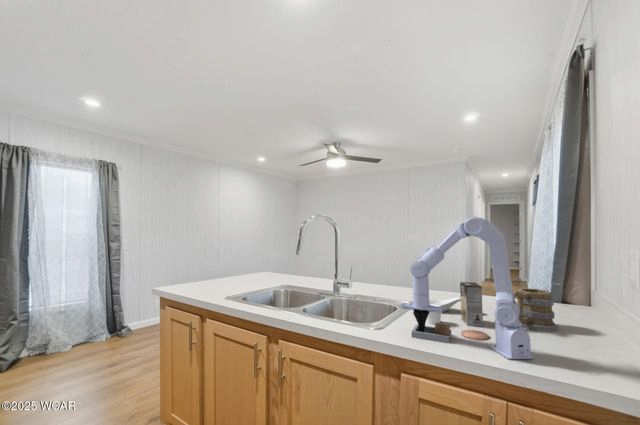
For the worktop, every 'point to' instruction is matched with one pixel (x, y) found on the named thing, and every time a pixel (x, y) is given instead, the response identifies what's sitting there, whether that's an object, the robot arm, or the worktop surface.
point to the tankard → (535, 309)
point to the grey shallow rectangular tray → (429, 334)
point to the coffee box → (471, 303)
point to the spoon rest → (446, 303)
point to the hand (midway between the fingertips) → (422, 330)
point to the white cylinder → (433, 316)
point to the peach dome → (474, 334)
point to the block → (442, 329)
